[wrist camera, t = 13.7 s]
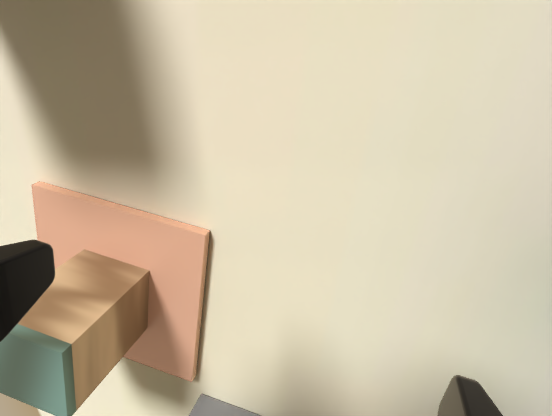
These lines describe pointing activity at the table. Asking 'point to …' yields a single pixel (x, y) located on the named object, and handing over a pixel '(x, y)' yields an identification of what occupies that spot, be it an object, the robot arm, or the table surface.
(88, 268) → the oak block
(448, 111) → the table surface
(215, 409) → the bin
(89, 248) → the tile
